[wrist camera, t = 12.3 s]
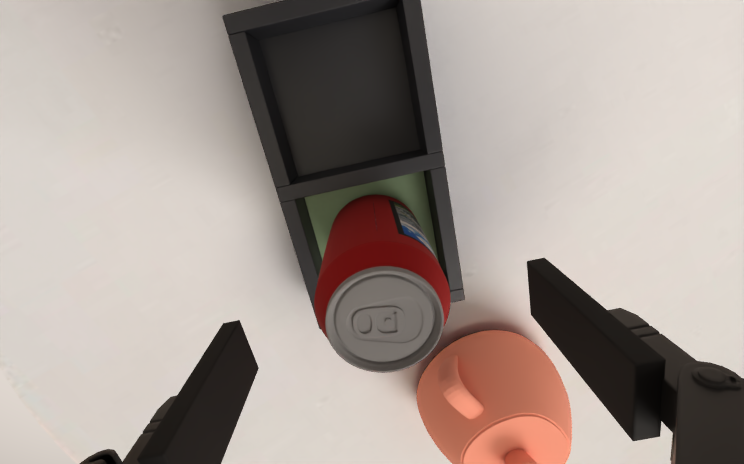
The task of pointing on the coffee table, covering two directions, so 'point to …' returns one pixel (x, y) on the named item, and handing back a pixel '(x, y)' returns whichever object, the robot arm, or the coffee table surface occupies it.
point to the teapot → (496, 402)
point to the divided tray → (346, 117)
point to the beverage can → (380, 287)
